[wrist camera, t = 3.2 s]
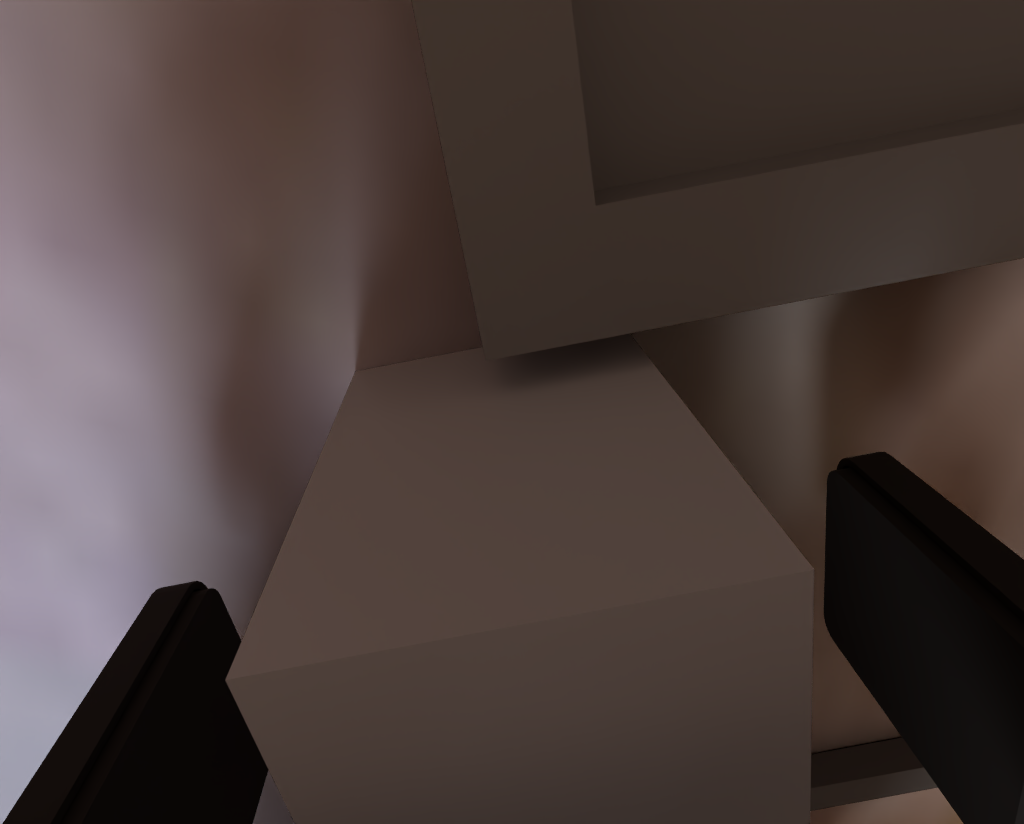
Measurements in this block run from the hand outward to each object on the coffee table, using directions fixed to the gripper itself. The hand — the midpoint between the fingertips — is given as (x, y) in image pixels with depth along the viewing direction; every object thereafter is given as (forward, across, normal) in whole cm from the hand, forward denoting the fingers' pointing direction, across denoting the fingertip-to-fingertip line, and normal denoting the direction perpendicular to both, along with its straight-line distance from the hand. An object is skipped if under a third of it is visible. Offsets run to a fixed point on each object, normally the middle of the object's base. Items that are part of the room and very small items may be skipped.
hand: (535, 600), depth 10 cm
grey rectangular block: (+2, 0, 0) cm, 2 cm away
